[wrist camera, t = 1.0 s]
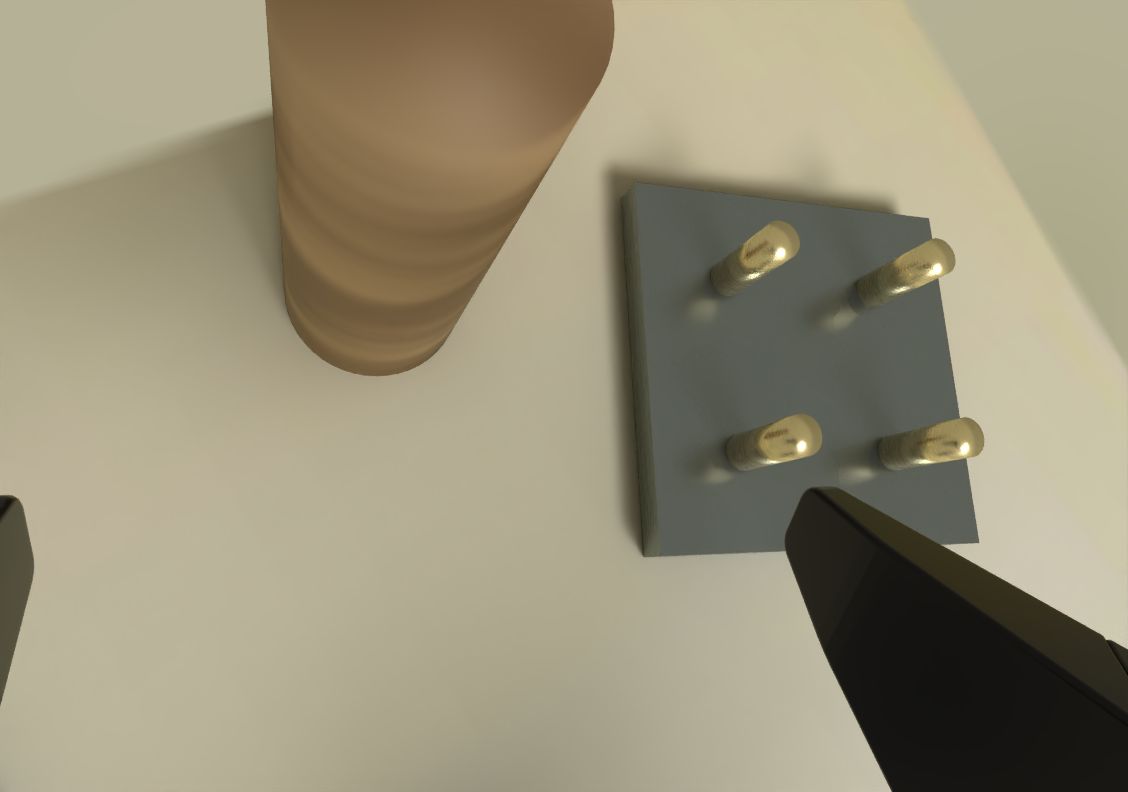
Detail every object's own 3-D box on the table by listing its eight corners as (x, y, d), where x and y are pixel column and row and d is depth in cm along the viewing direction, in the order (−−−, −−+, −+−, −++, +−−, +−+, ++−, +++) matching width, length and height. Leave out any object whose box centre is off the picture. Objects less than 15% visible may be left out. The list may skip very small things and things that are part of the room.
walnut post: (424, 401, 23) (560, 203, 11) (256, 337, 22) (197, 38, 10) (479, 256, 24) (649, -57, 12) (324, 190, 23) (345, -225, 11)
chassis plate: (952, 544, 28) (1064, 538, 24) (644, 557, 24) (714, 553, 20) (905, 231, 30) (999, 177, 26) (621, 198, 26) (678, 129, 22)
